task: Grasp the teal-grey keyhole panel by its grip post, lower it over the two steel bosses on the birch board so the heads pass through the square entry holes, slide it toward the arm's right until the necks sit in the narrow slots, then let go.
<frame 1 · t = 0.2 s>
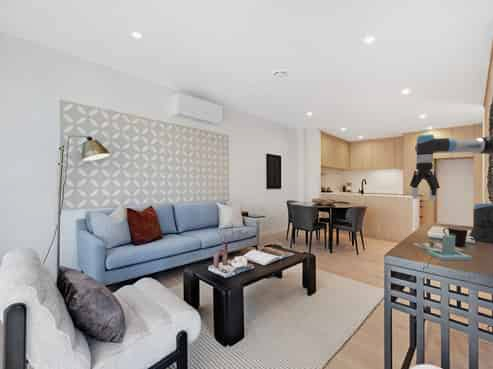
hand: (423, 200, 136), 27 cm above the table, fingers open, 13 cm apart
coffee mug: (455, 244, 142), on the table
panel: (448, 256, 123), on the table
boss board: (437, 248, 135), on the table
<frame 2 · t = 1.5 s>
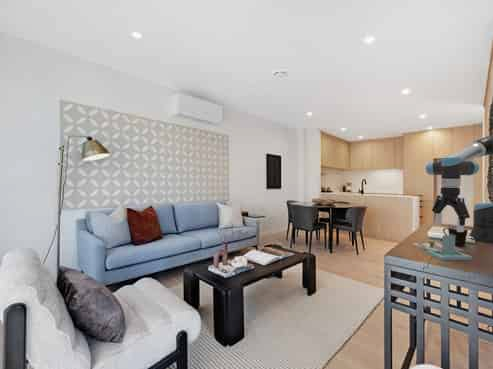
hand: (448, 228, 122), 14 cm above the table, fingers open, 13 cm apart
nothing on the table moved.
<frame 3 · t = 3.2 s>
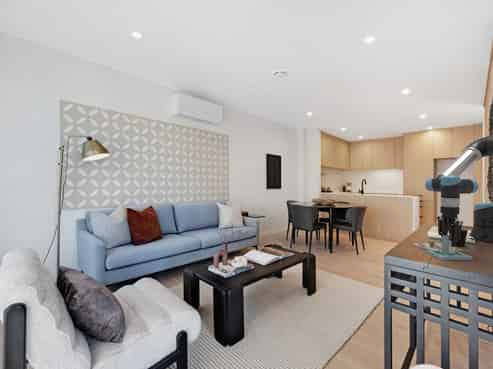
hand: (448, 251, 123), 3 cm above the table, fingers closed on panel, 3 cm apart
panel: (448, 256, 123), on the table, touching gripper
everything else where it was.
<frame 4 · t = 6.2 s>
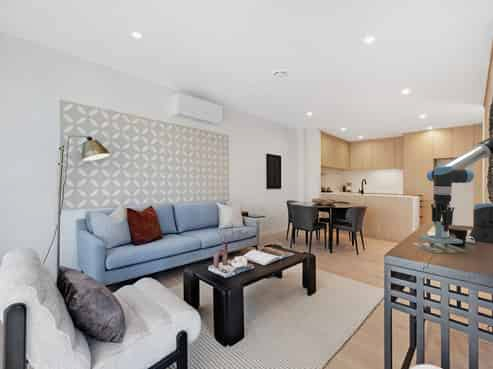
hand: (441, 236, 132), 8 cm above the table, fingers closed on panel, 3 cm apart
panel: (440, 240, 133), point 5 cm above the table, touching gripper
everything else where it was.
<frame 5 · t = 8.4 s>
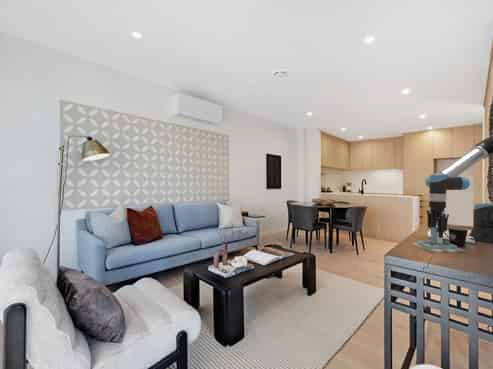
hand: (436, 241, 136), 4 cm above the table, fingers closed on panel, 3 cm apart
panel: (436, 246, 136), point 1 cm above the table, touching gripper
everything else where it was.
when the fingers open (4 cm above the table, at t = 9.3 s): panel stays where it is, resting on boss board.
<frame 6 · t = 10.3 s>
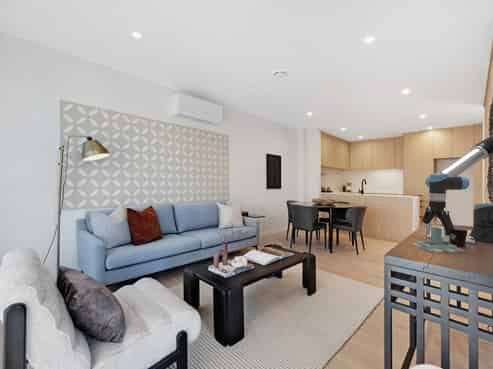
hand: (436, 237, 136), 6 cm above the table, fingers open, 13 cm apart
panel: (436, 246, 136), point 1 cm above the table, touching boss board
everything else where it was.
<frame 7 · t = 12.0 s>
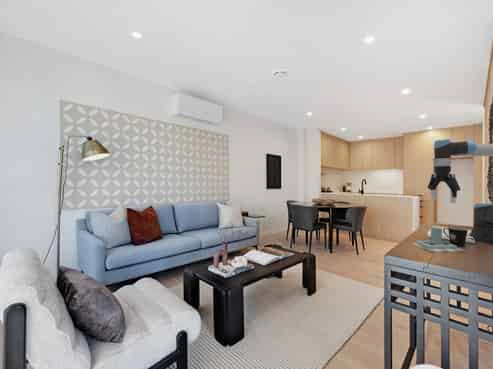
hand: (443, 201, 142), 26 cm above the table, fingers open, 13 cm apart
nothing on the table moved.
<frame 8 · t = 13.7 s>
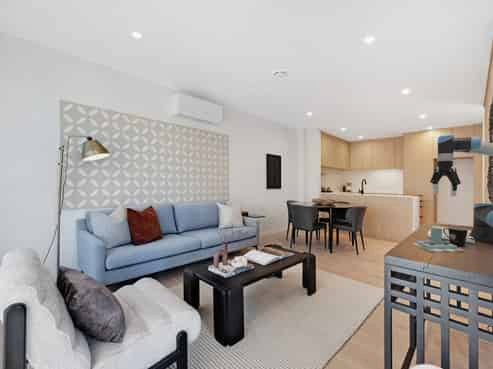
hand: (444, 195, 148), 29 cm above the table, fingers open, 13 cm apart
nothing on the table moved.
at the end: panel 0.2 cm off-centre on the boss board, point 1.0 cm above the boss board's base; panel tilted 0°; the gripper is holding nothing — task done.
